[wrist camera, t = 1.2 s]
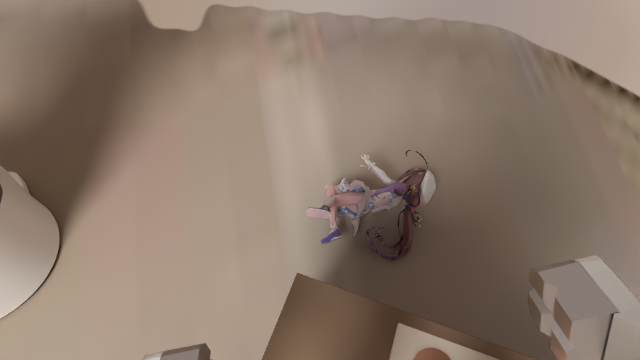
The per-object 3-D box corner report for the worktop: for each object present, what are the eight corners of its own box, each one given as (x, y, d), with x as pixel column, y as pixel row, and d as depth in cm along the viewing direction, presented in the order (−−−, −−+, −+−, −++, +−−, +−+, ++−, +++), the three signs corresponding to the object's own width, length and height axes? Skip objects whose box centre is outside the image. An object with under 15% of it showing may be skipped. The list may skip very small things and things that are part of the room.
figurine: (297, 236, 50) (409, 176, 54) (337, 297, 45) (458, 226, 48) (274, 166, 42) (408, 99, 45) (319, 230, 36) (468, 149, 40)
